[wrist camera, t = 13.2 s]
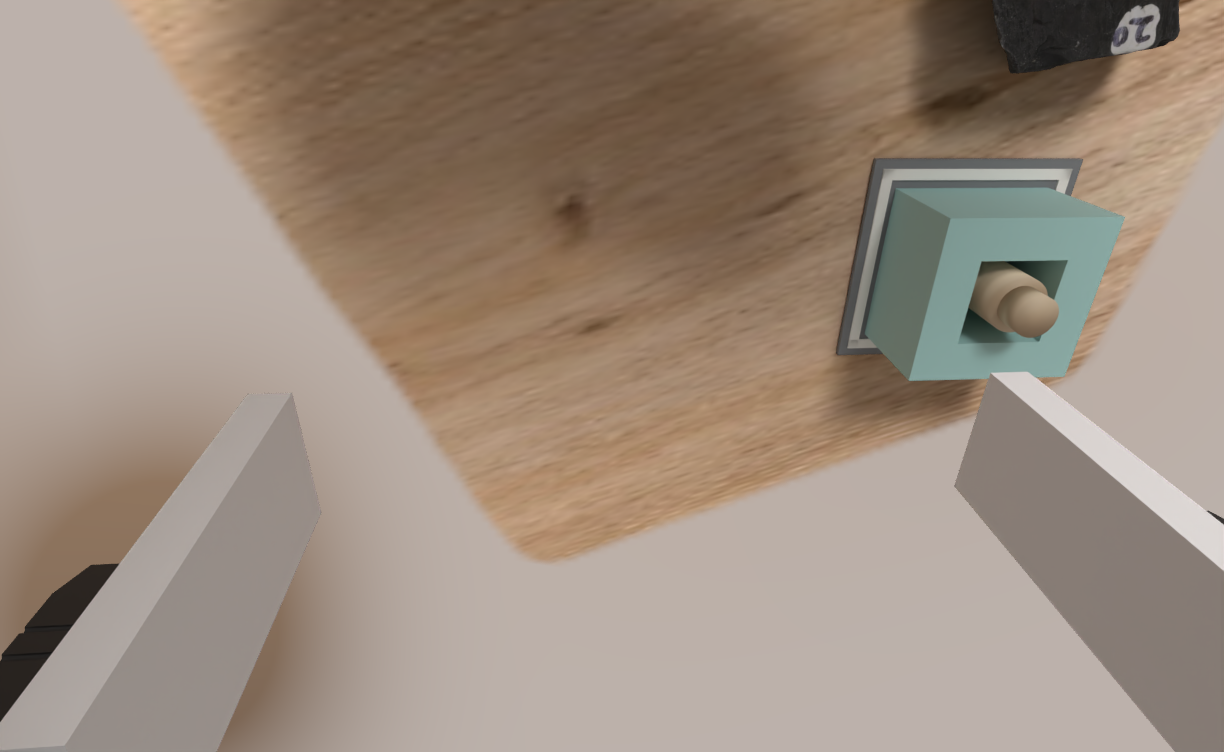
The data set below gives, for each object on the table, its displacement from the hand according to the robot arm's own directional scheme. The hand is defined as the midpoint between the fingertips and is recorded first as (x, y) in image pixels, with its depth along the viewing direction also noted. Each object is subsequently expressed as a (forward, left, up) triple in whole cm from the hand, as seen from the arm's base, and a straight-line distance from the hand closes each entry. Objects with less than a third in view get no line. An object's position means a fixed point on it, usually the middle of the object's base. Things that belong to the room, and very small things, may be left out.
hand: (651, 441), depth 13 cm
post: (+6, +22, -27) cm, 35 cm away
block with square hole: (+6, +22, -26) cm, 35 cm away
